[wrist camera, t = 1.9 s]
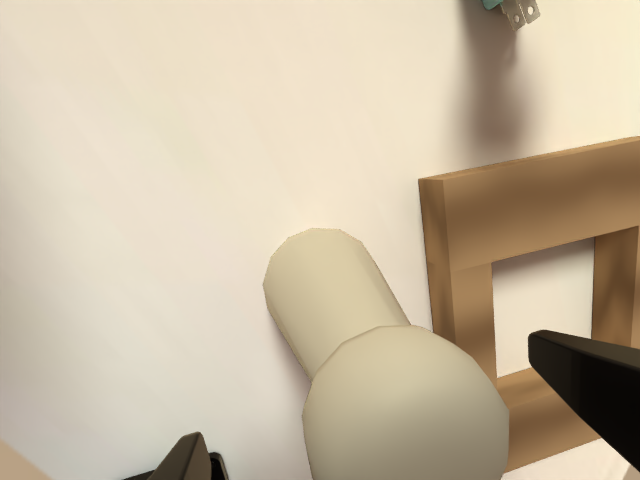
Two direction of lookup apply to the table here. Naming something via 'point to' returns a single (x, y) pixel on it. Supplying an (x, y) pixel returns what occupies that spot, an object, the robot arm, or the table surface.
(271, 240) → the table surface
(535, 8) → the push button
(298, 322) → the salt shaker
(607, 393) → the robot arm
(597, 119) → the table surface
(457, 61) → the table surface
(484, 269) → the wooden flat frame
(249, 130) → the table surface
